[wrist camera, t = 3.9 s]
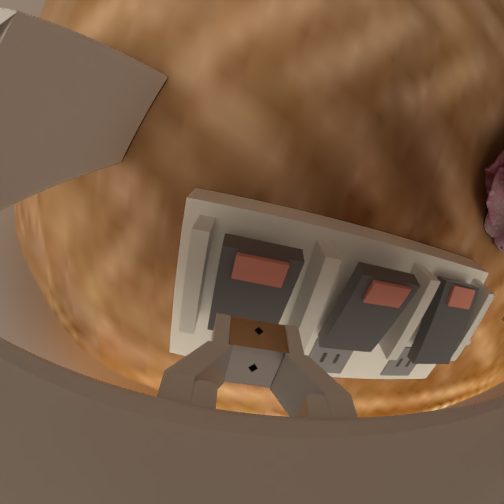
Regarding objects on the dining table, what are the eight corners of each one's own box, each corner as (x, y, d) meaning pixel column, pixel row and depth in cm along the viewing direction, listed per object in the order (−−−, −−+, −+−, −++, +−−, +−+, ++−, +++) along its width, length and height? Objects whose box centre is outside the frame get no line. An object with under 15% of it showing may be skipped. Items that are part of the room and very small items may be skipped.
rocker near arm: (467, 282, 20) (481, 289, 18) (438, 354, 21) (450, 365, 19) (434, 274, 19) (449, 281, 17) (404, 353, 21) (415, 365, 19)
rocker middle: (411, 269, 17) (422, 289, 16) (366, 335, 21) (371, 355, 20) (356, 256, 17) (364, 278, 15) (317, 329, 21) (319, 350, 19)
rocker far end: (301, 244, 17) (305, 266, 15) (270, 322, 21) (270, 344, 19) (226, 228, 16) (221, 249, 15) (210, 310, 20) (206, 332, 19)
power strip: (504, 270, 23) (533, 295, 18) (453, 360, 28) (472, 390, 23) (195, 187, 20) (175, 209, 15) (176, 330, 25) (162, 374, 20)
